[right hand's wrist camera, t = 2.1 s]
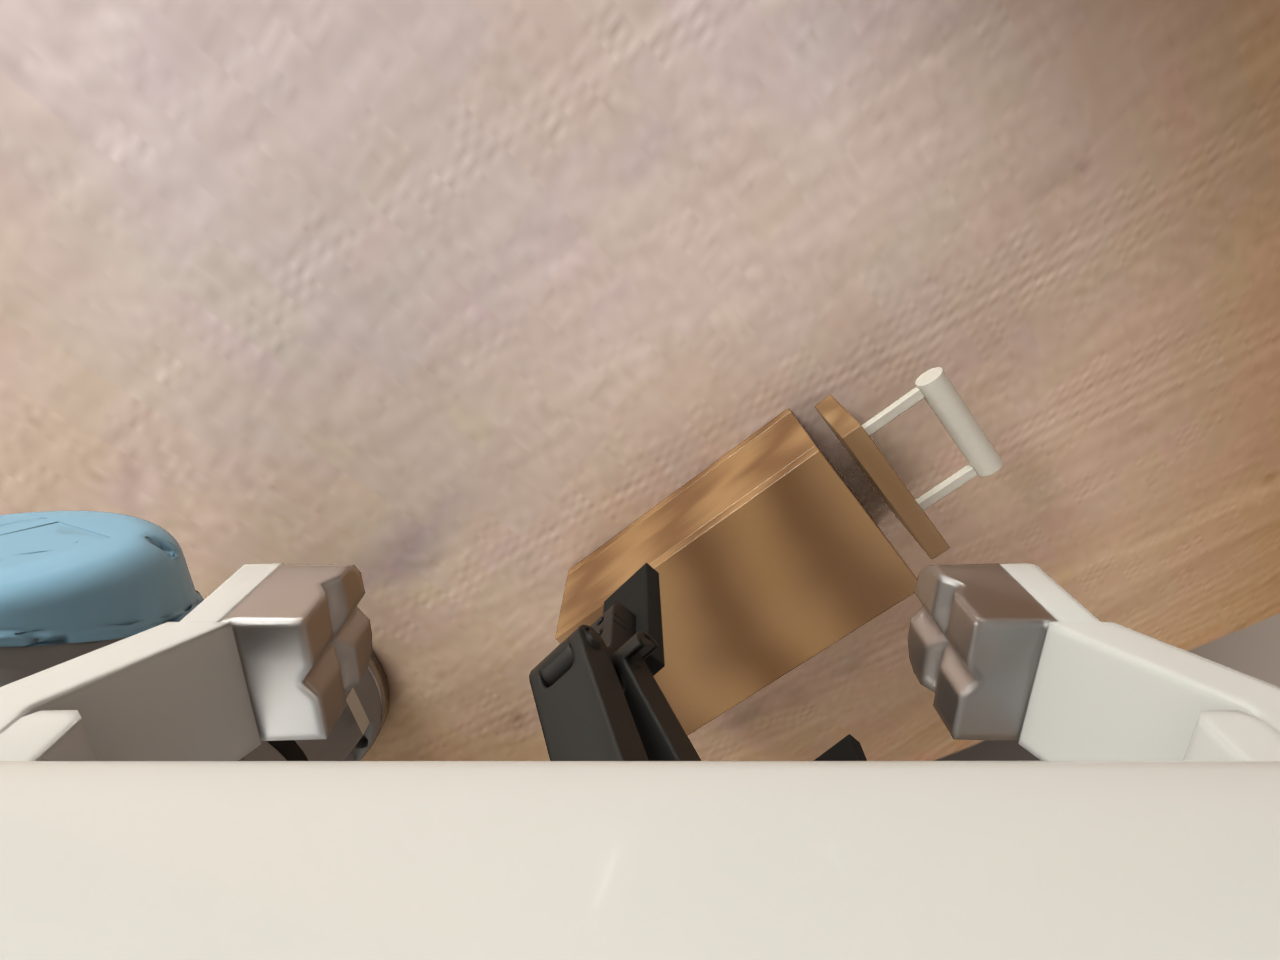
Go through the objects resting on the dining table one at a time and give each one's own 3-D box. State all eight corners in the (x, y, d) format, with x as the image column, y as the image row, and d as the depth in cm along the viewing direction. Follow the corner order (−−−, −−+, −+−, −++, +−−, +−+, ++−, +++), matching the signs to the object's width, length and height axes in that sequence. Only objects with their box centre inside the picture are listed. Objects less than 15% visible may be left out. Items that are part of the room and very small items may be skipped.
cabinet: (788, 407, 44) (819, 449, 36) (877, 525, 47) (923, 587, 39) (568, 570, 48) (554, 638, 40) (663, 668, 51) (667, 749, 43)
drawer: (906, 338, 41) (951, 360, 35) (983, 454, 44) (1036, 492, 38) (613, 553, 46) (609, 603, 40) (698, 644, 49) (705, 704, 43)
